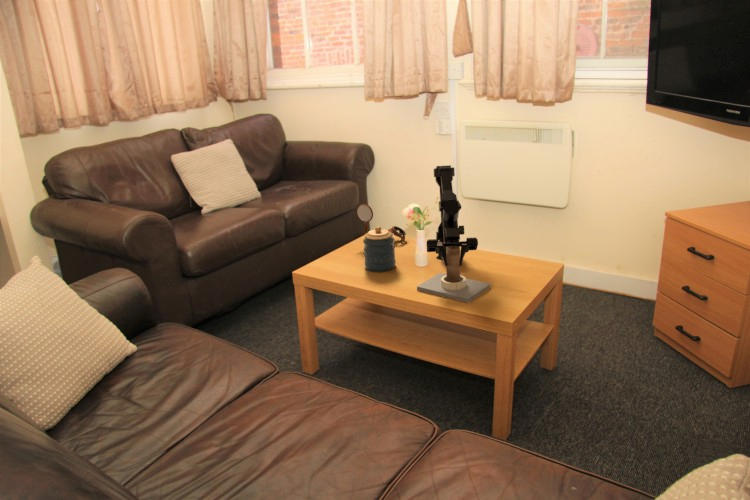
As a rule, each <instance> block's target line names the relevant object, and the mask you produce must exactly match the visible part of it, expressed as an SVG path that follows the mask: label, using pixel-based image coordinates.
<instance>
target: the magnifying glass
mask: <svg viewBox="0 0 750 500" xmlns="http://www.w3.org/2000/svg"><path fill="white" fill-rule="evenodd" d="M356 215H357V218H358V219H359V220H360V221H361V222H362V223H363V224H364V225H363V226H364V235H365V234H366V233H368V223H369V222H371V221H372V219H373V218H374V211H373V209H372V208H371V206H370V205H368V204H366V203H361V204H359V205H358V206H357V208H356ZM365 238H366V237H365V236H364V239H365Z"/></svg>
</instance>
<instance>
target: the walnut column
mask: <svg viewBox="0 0 750 500" xmlns="http://www.w3.org/2000/svg"><path fill="white" fill-rule="evenodd" d="M460 251H461V247H458V246H448V247H446V261H447V266H445V267H446V269H445V270H446V274H447V282H450V283H456V282H460V275H461V266H460Z"/></svg>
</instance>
